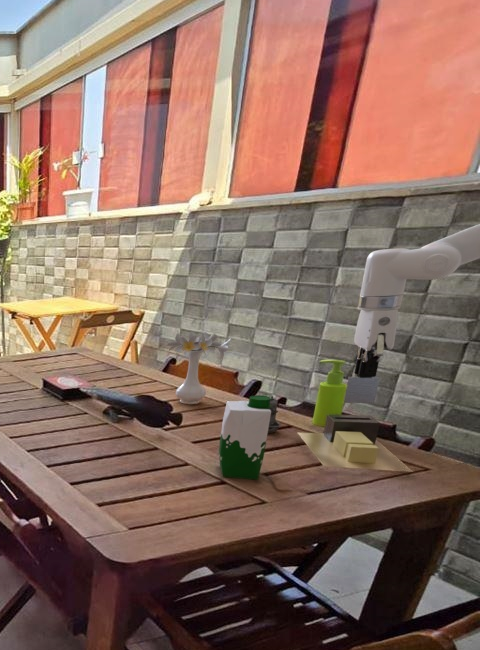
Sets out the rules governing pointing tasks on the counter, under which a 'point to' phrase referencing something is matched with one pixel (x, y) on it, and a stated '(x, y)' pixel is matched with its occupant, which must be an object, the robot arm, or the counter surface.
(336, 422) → the block
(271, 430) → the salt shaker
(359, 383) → the knife
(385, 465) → the cutting board
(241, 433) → the milk carton
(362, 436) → the butter
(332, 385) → the soap dispenser
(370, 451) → the butter slice
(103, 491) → the counter surface
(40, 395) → the counter surface
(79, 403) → the counter surface
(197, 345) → the flower vase
